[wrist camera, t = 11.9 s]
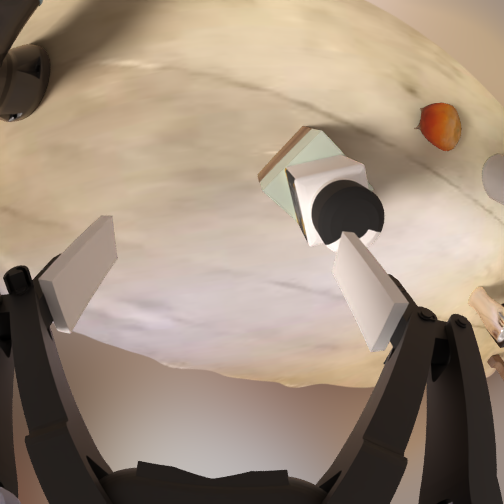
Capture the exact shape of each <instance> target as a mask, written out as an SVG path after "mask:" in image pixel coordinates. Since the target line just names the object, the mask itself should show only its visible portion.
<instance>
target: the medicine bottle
mask: <svg viewBox="0 0 504 504" xmlns="http://www.w3.org/2000/svg"><path fill="white" fill-rule="evenodd" d="M285 173H286V177H287V181H288V185H289V189H290V193H291V197H292V201H293V206H294V210H295V214H296V218H297V222H298V224H299V226H300V228H301V230H302V232H303V234H304V236H305V238H306V240H307V242H308V244H309V245H310V246H316V245H320V244H323V243H324V244H325V245H326V246H327V247H328V248H329V249H331V250H332V251H334V252H337V251H338V247H339V243H340V239H341V235H342V231H344V232H353V233H355V234H356V235H357V237H358V238H359V239H360V240H361V241H362V243H363V244H364V245H365V246H366V248H368V247H370V246H371V245H372V244H373V243H374V242H375V241H376V239H377V238H378V236H379V235H380V233H381V231H382V228H383V224H384V209H383V206H382V203H381V201H380V200H379V198H378V197H377V196H376V195H375V194H374V193H373V192H372V191H370V190H369V189H368V182H367V175H366V169H365V165H364V164H362V163H360V162H358V161H355V160H353V159H350V158H348V157H345V156H343V155H336V156H331V157H327V158H322V159H318V160H314V161H309V162H305V163H301V164H297V165H293V166H289V167H286V168H285Z"/></svg>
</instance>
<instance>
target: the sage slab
mask: <svg viewBox="0 0 504 504" xmlns="http://www.w3.org/2000/svg"><path fill="white" fill-rule="evenodd" d="M336 155H343V156H345V154H344V153H343V152H342V151H341V150H340V149H339V148H338V147H337V146H336V145H335V144H334V143H333V142H332V140H331V139H330V138H329V137H328V136H327V135H326V134H325V133H324V132H323V131H321V130H316V129H311V130H310V131H309V132H308V133H307V134H306V135H305V136H304V137H303V138H302V139H301V140H300V141H299V142H298V143H297V144H296V145H295V146H294V147H293V148H292V149H291V150H290V151H289V152H288V153H287V154H286V155H285V156H284V157H283V158H282V159H281V160H280V161H279V162H278V163H277V165H276V166H275V167H274V168H273V169H272V170H271V171H270V172H269V173H268V174H267V175H266V176H265V177H264V178H263V179H262V180H261V181H260V183H261V187H262V191H263V192H264V193H265V194H266V195H267V196H268V197H270V198H271V199H272V200H273V201H274V202H275V203H276V204H277V205H279V206H280V207H281V208H282V209H283V210H284V211H285V212H286V213H288V214H289V215H290V216H291V217H292V218H293V219H294V220H295V221H296V222H297V218H296V214H295V210H294V206H293V201H292V197H291V193H290V189H289V185H288V181H287V177H286V173H285V168H286V167H289V166H293V165H297V164H301V163H305V162H309V161H314V160H318V159H322V158H327V157H331V156H336ZM345 157H346V156H345ZM367 182H368V181H367ZM368 189H369V190H370V191H373V190H374V188H373V187H372V186H371V185H370V183H369V182H368ZM297 223H298V222H297Z"/></svg>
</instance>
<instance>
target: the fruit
mask: <svg viewBox="0 0 504 504" xmlns="http://www.w3.org/2000/svg"><path fill="white" fill-rule="evenodd" d="M414 129H420V130H421V132H422V134H423V135H424V136H425V138H426V139H427V140H428V141H429V142H431V143H432V144H433V145H434V146H436V147H437V148H439V149H441V150H443V151H449V150H452V149H453V148H454V147H455V145H456V144H457V143H458V141H459V138H460V136H461V122H460V119H459V116H458V113H457V111H456V109H455V108H454V107H453V106H451V105H449V104H446V103H434V104H431V105H428V106H426V107H424V108H421V120H420V123H419V125H418V127H417V128H414Z"/></svg>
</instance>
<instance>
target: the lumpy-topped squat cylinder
mask: <svg viewBox="0 0 504 504" xmlns="http://www.w3.org/2000/svg"><path fill="white" fill-rule="evenodd" d="M482 181H483V186H484V189H485V191H486V193H487V195H488V196H489V197H490V198H492V199H493V200H495V201H497V202H499V203H501V204H503V205H504V155H501V154H495V155H493V156H491V157H489V158H488V160H487V161H486V162H485V164H484V166H483V170H482Z"/></svg>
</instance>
